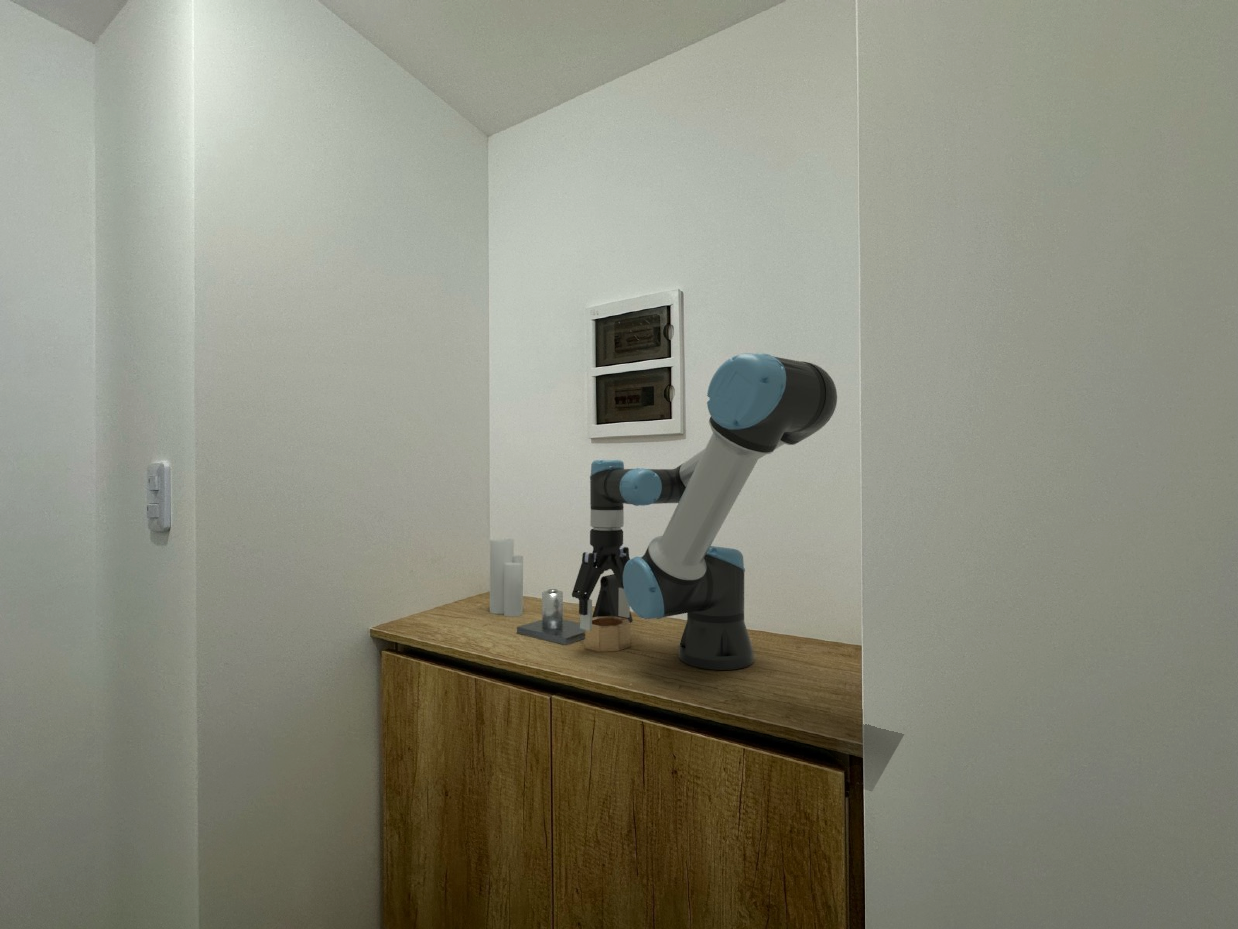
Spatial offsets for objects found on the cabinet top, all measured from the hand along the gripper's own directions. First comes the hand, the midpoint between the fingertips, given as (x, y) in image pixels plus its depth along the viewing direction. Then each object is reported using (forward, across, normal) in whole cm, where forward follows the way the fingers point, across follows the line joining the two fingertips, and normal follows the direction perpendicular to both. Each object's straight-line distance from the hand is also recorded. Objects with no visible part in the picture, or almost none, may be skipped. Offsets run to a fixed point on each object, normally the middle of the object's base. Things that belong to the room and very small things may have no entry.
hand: (605, 622), depth 125 cm
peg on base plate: (+5, 0, -14) cm, 15 cm away
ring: (+5, 0, +1) cm, 5 cm away
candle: (+6, -7, -40) cm, 41 cm away
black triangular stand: (+5, -17, -11) cm, 21 cm away
